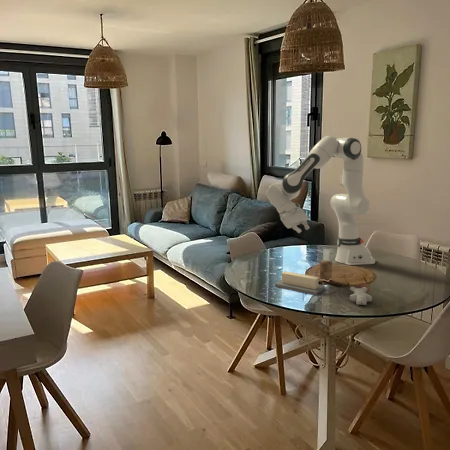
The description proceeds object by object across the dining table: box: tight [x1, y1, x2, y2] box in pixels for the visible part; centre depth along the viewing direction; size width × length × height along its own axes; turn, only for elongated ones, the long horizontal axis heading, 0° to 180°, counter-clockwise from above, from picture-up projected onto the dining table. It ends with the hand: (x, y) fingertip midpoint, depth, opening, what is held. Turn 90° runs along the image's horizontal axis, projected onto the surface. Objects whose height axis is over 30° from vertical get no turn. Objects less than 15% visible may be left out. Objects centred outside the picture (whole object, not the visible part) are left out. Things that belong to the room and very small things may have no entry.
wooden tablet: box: [349, 283, 371, 293], centre depth 223 cm, size 26×2×10 cm
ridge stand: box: [274, 270, 326, 296], centre depth 218 cm, size 22×10×6 cm, turn 54°
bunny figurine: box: [349, 286, 373, 306], centre depth 201 cm, size 10×5×15 cm
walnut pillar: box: [319, 259, 333, 280], centre depth 227 cm, size 4×4×10 cm
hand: (304, 230), depth 230 cm, fingers open, 8 cm apart
